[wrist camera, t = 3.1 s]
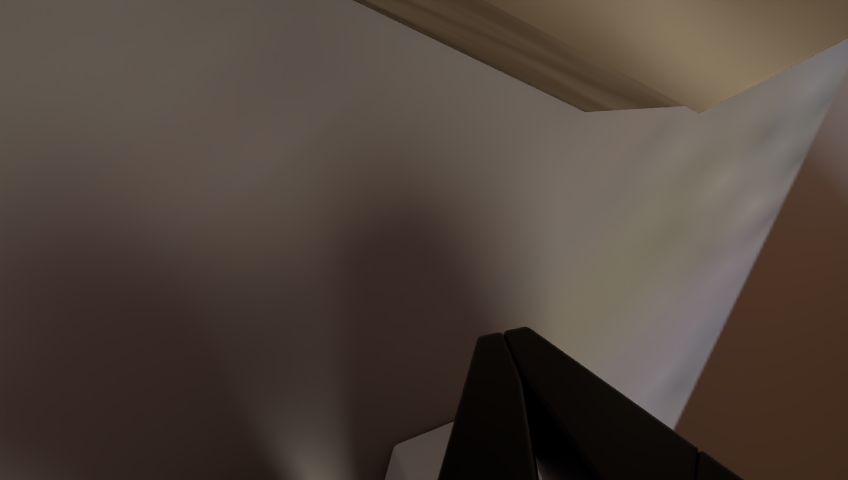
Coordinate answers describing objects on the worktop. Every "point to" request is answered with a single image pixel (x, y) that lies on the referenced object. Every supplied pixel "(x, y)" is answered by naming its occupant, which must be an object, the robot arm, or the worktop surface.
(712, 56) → the lid
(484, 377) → the robot arm
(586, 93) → the cardboard box
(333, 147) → the worktop surface
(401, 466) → the jar
